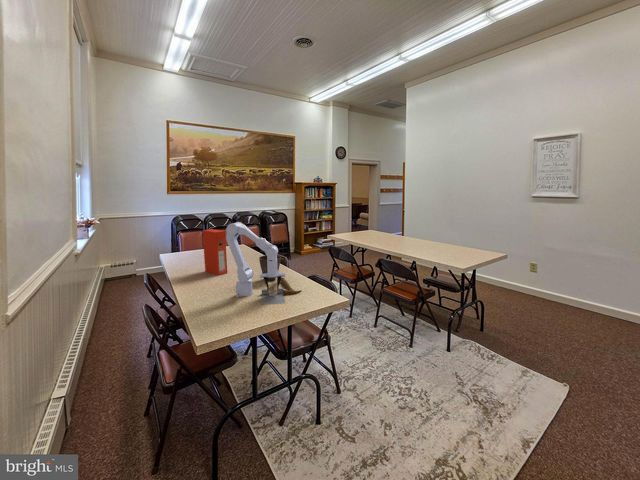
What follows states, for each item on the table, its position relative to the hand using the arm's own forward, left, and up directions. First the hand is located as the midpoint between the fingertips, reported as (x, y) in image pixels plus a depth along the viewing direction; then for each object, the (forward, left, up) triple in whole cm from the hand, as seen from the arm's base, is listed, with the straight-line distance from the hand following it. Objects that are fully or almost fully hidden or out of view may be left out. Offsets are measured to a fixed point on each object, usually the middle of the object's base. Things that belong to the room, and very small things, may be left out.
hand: (272, 289), depth 180 cm
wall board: (0, -4, -5) cm, 7 cm away
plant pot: (0, +36, -5) cm, 36 cm away
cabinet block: (0, 0, -2) cm, 2 cm away
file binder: (-40, +61, -5) cm, 73 cm away
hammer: (+10, +15, -6) cm, 19 cm away
